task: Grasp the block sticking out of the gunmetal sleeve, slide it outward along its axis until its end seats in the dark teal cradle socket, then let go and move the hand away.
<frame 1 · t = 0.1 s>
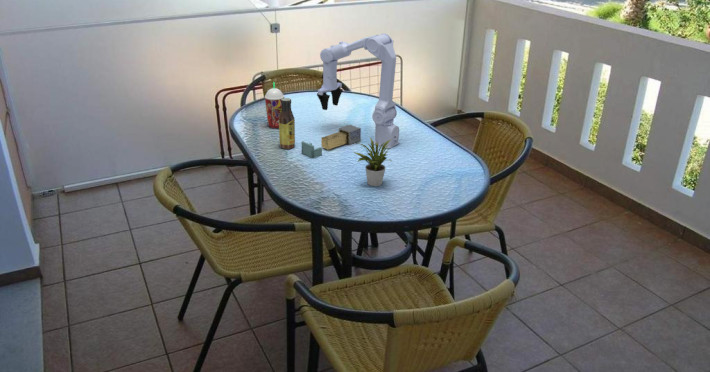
hand: (330, 107, 257), 10 cm above the table, tool pointing down, fingers open, 7 cm apart
sauce bottle: (287, 147, 242), on the table
house plant: (375, 182, 213), on the table
smoothie: (275, 126, 264), on the table
sleeve: (344, 143, 246), on the table
block: (339, 138, 243), point 3 cm above the table, slide at 0.0 cm
socket: (311, 148, 234), on the table
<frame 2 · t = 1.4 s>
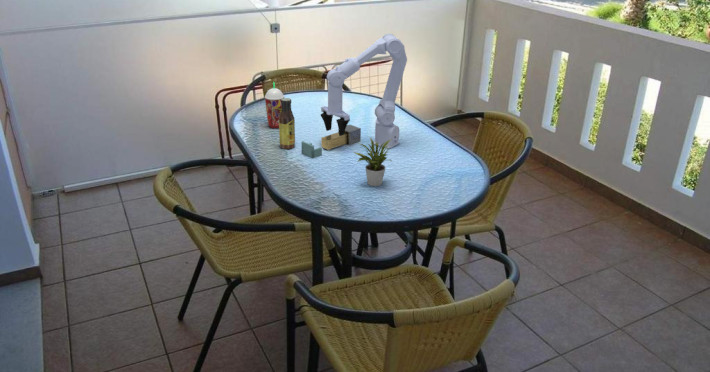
hand: (334, 132, 241), 6 cm above the table, tool pointing down, fingers open, 7 cm apart
nothing on the table moved.
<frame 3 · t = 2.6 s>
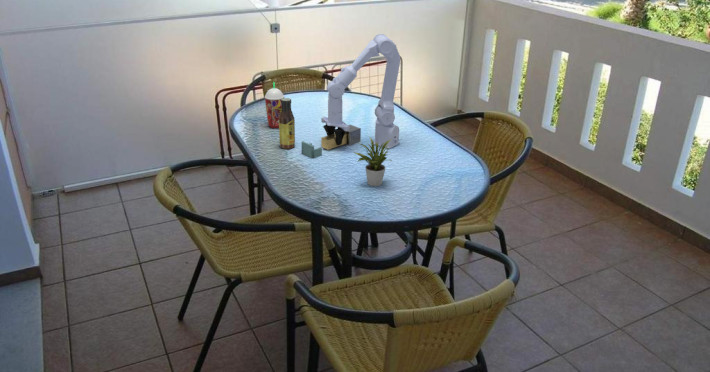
hand: (335, 143, 243), 1 cm above the table, tool pointing down, fingers closed on block, 4 cm apart
block: (339, 138, 243), point 3 cm above the table, slide at 0.0 cm, touching gripper
everything else where it was.
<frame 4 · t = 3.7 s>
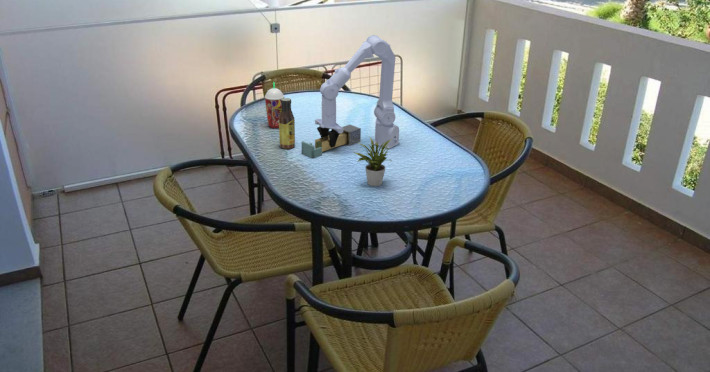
hand: (329, 145, 240), 1 cm above the table, tool pointing down, fingers closed on block, 4 cm apart
block: (333, 140, 241), point 3 cm above the table, slide at 3.4 cm, touching gripper
everything else where it was.
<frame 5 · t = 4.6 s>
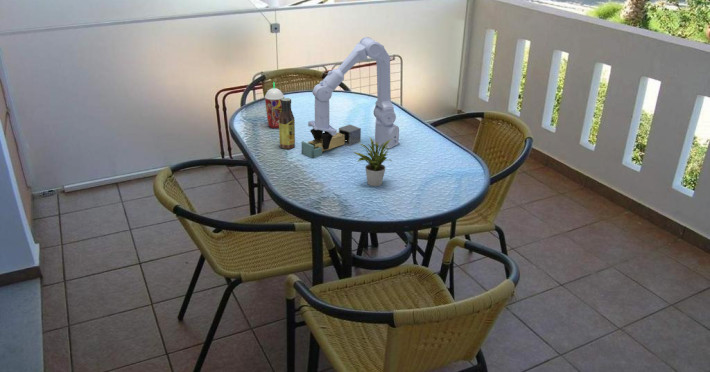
hand: (322, 147, 238), 1 cm above the table, tool pointing down, fingers closed on block, 4 cm apart
block: (326, 143, 239), point 3 cm above the table, slide at 6.9 cm, touching gripper
everything else where it was.
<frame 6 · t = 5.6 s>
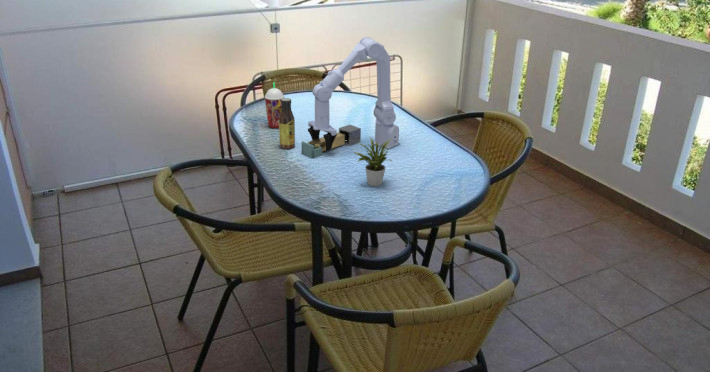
hand: (322, 147, 238), 1 cm above the table, tool pointing down, fingers open, 7 cm apart
block: (326, 143, 239), point 3 cm above the table, slide at 7.0 cm
everything else where it was.
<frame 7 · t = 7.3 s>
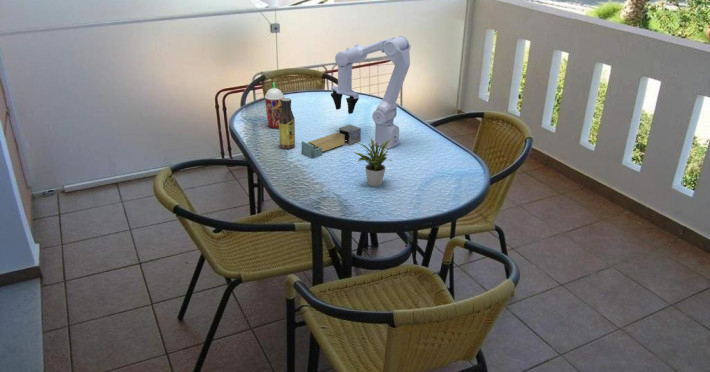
hand: (344, 111, 253), 10 cm above the table, tool pointing down, fingers open, 7 cm apart
nothing on the table moved.
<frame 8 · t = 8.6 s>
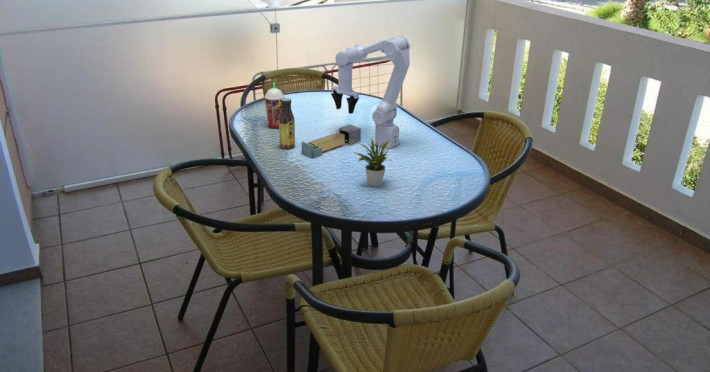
hand: (344, 111, 253), 10 cm above the table, tool pointing down, fingers open, 7 cm apart
nothing on the table moved.
at the end: block slide at 7.0 cm; the gripper is holding nothing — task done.
